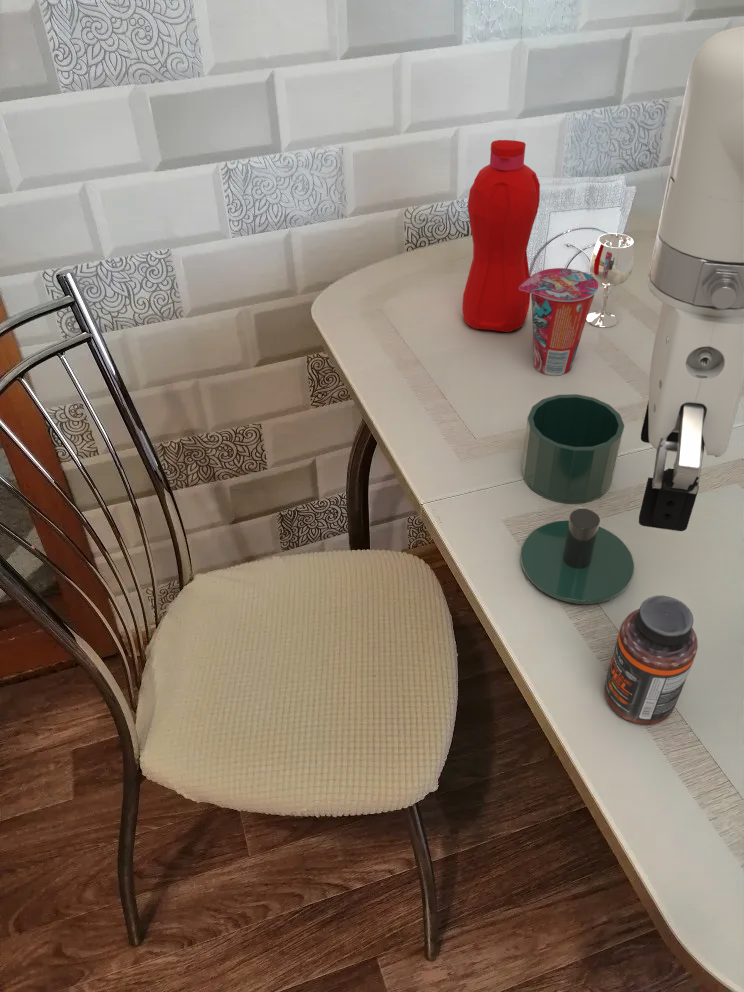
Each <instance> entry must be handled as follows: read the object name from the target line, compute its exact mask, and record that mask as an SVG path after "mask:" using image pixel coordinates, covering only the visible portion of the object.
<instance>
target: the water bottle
mask: <svg viewBox="0 0 744 992" xmlns="http://www.w3.org/2000/svg"><path fill="white" fill-rule="evenodd" d="M526 145H527V144H526V143H525V142H524V141H520V140H513V139H511V140H510V139H498V140H497V139H496V140H493V141H492V142H491V143H490V158H489V164H487V165H485V166H483V167H482V168H481V169H480V170H479V171H478V173H477V175H476V176H475V178H474V181H473V184H472V185H471V187H470V189H469V193H468V200H467V213H468V219H469V226H470V232H471V238H472V246H473V247H472V248H473V250H472V261H471V265H470V268H469V271H468V276H467V279H466V283H465V287H464V291H463V294H462V305H461V306H462V308H461V310H462V316H463V320H464V322H465V324H467V325H468V326H469V327H471V328H473V329H477V330H487V331H496V332H505V333H509V332H512V331H515V330H517V329H519V328H521V327H522V326H523V325H524V324H525V322H526V320H527V318H528V317H527V316H528V312H529V309H530V303H531V293H530V292H526V291H522V290H519V286H520V285H521V284H522V283H523V282H525V281H526V280H527V279H528V278H530V277H531V275H530V269H529V260H528V252H527V250H528V246H529V242H530V239H531V234H532V230H533V227H534V224H535V221H536V218H537V215H538V211H539V207H540V201H541V199H540V195H541V184H540V181H539V179H538V176H537V173H536V171H534V170H533V169H532V168H531V167H529V166H528V165H526V164H525V156H526V155H525V154H526Z"/></svg>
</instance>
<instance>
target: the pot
mask: <svg viewBox="0 0 744 992" xmlns="http://www.w3.org/2000/svg"><path fill="white" fill-rule="evenodd" d="M525 426H526V427H525V435H524V436H525V437H524V443H523V444H524V445H523V452H522V460H521V461H522V462H521V470H522V471H521V474H522V478H523V480H524V482H525V484H526V485H527V486H528V487H529V488H530V489H531V490H532V491H533V492H534V493H535V494H537V495H539V496H540V497H542V498H545V499H548V500H550V501H553V502H557V503H562V504H585V503H590V502H592V501H595V500H597V499H599V498H601V497H602V496H604V495H605V494H606V493H607V492H608V491H609V490H610V488H611V485H612V483H613V479H614V475H615V471H616V465H617V461H618V457H619V453H620V452H619V451H620V448H621V443H622V440H623V436H624V435H623V434H624V430H625V423H624V421H623V418H622V416H621V414H620V413H619V412H618V411H617V410H616V409H615V408H613V406H611V405H610V404H608V403H607V402H604V401H602V400H600V399H598V398H595V397H592V396H588V395H582V394H576V393H575V394H573V393H572V394H571V393H570V394H557V395H553V396H549V397H545V398H542V399H541V400H540V401H538V402H537V403H536V404H533V406H531V408H530V410H529V412H528V415H527V420H526V425H525Z"/></svg>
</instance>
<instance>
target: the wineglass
mask: <svg viewBox="0 0 744 992" xmlns="http://www.w3.org/2000/svg"><path fill="white" fill-rule="evenodd" d="M634 263H635V244H634V239H633V238H632V237H630V236H629V235H627V234H623V233H617V232H616V233H615V232H614V233H613V232H610V233H609V232H608V233H604V234H602V235H600V236H599V237H598V238H597V241H596V243H595V245H594V248H593V251H592V254H591V258H590V262H589V272H590V275H591V276H592V277H593V278H594V279H595V280H596V281H597V283H598V285H601V286H604V287H603V290H602V294H603V300H602V307H601V310H600V311H599V310H598V311H597V310H596V311H592V312H590V313H588V316H587V319H586V322H587V323H588V324H590V326H594V327H597V328H611V327H614V326H616V325H617V324H618V317H617V316H616V315H615V314H613V313H611V312H608V311H606V308H607V302H608V298H609V296H610V295H611V291H612V290H611V287H615V286H619V285H621V284H624V283H625V282H626V281H627V280H628V279H629V278H630V276H631V275H632V272H633V269H634V265H635V264H634Z"/></svg>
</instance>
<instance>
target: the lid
mask: <svg viewBox="0 0 744 992" xmlns="http://www.w3.org/2000/svg"><path fill="white" fill-rule="evenodd" d="M600 524H601V519H600V516H599V515H598V514H597V513H596V512H595V511H593V510H591V509H588V508H578V509H575V510H573V511H572V512H571V513H570V514H569V519H568V520H557V521H551V522H549V523H546V524H543V525H541V526H539V527H537V528H536V529H534V530H533V531H532V532H530V533H529V534H528V536H527V537H526V538H525V539H524V541H523V544H522V545H521V550H520V564H521V568H522V570H523V571H524V575H525V576H526V578H527V579H528V580H529V581H530V582H531V584H532V585H534V587H536V588H537V589H538V590H540V591H541V592H543V593H544V594H546V595H548V596H550V597H552V598H555V599H556V600H559V601H561V602H567V603H571V604H578V605H579V604H580V605H591V604H599V603H604V602H607V601H610V600H612V599H615V598H616V597H617V596H619V595H620V594H622V593H623V592H624V591H625V590H626V589H627V588H628V586H629V585H630V583H631V581H632V579H633V576H634V571H635V563H634V559H633V556H632V554H631V551H630V549H629V548H628V547H627V545H626V544H625V543H624V541H622V540H621V538H619V537H618V536H617V535H615V534H614V533H613V532H611V531H609V530H608V529H606V528H603V526H600Z"/></svg>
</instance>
